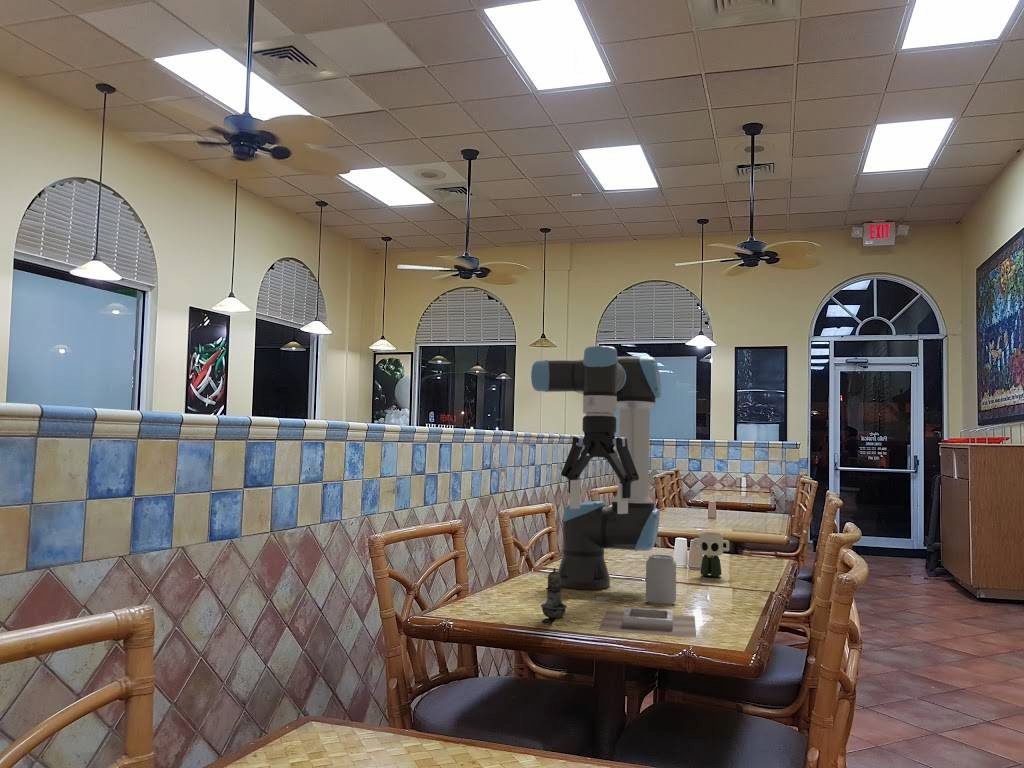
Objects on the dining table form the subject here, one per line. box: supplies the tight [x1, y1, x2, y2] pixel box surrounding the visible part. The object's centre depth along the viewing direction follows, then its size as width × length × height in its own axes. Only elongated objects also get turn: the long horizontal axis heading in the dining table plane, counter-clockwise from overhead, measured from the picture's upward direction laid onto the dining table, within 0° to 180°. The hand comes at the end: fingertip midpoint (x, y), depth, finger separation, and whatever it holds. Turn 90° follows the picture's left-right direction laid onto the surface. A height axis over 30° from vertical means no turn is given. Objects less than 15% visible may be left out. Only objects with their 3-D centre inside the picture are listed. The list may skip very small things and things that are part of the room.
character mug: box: [692, 531, 730, 578], centre depth 244 cm, size 11×7×13 cm, turn 68°
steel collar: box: [623, 606, 674, 630], centre depth 175 cm, size 10×10×2 cm
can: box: [645, 554, 677, 607], centre depth 202 cm, size 8×8×12 cm
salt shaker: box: [540, 567, 568, 626], centre depth 179 cm, size 6×6×12 cm
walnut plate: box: [598, 610, 697, 638], centre depth 175 cm, size 20×20×1 cm
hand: (598, 511), depth 177 cm, fingers open, 13 cm apart
